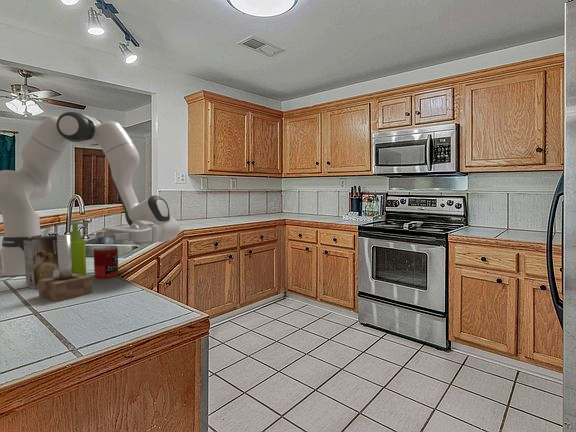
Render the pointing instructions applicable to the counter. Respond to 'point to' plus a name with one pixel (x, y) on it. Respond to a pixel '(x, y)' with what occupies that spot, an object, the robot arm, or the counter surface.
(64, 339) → the counter surface
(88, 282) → the walnut socket block
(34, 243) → the coffee box
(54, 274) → the short steel dowel
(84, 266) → the soap dispenser
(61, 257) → the long steel dowel
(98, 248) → the canned food
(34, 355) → the counter surface
